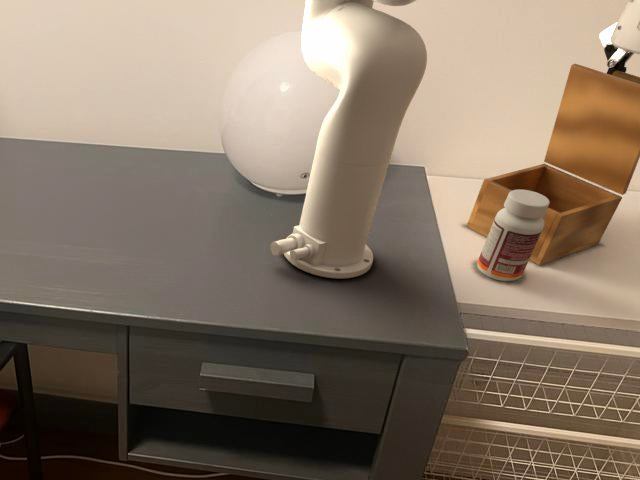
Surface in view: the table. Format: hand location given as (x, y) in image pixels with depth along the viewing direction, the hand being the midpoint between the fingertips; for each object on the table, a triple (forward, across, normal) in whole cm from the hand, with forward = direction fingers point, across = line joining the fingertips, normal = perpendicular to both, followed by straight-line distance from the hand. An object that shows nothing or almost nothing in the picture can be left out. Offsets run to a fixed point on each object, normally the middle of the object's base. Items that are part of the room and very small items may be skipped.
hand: (627, 101), depth 106 cm
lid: (+4, 0, -5) cm, 6 cm away
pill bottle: (+19, +5, -24) cm, 31 cm away
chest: (+19, 0, -10) cm, 22 cm away
